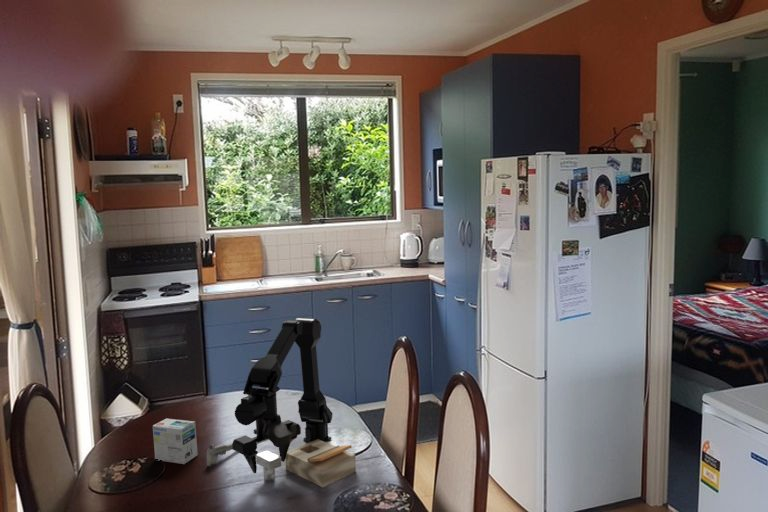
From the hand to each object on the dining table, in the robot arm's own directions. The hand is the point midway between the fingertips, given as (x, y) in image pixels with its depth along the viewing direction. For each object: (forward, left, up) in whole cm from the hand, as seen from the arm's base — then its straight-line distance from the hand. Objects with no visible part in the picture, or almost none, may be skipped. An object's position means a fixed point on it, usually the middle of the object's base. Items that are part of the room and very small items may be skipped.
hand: (269, 466), depth 170 cm
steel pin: (0, 0, -4) cm, 4 cm away
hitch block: (-13, +6, -4) cm, 15 cm away
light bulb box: (+10, -33, -4) cm, 35 cm away
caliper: (-3, -23, -4) cm, 24 cm away
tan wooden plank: (-13, +10, +2) cm, 17 cm away
